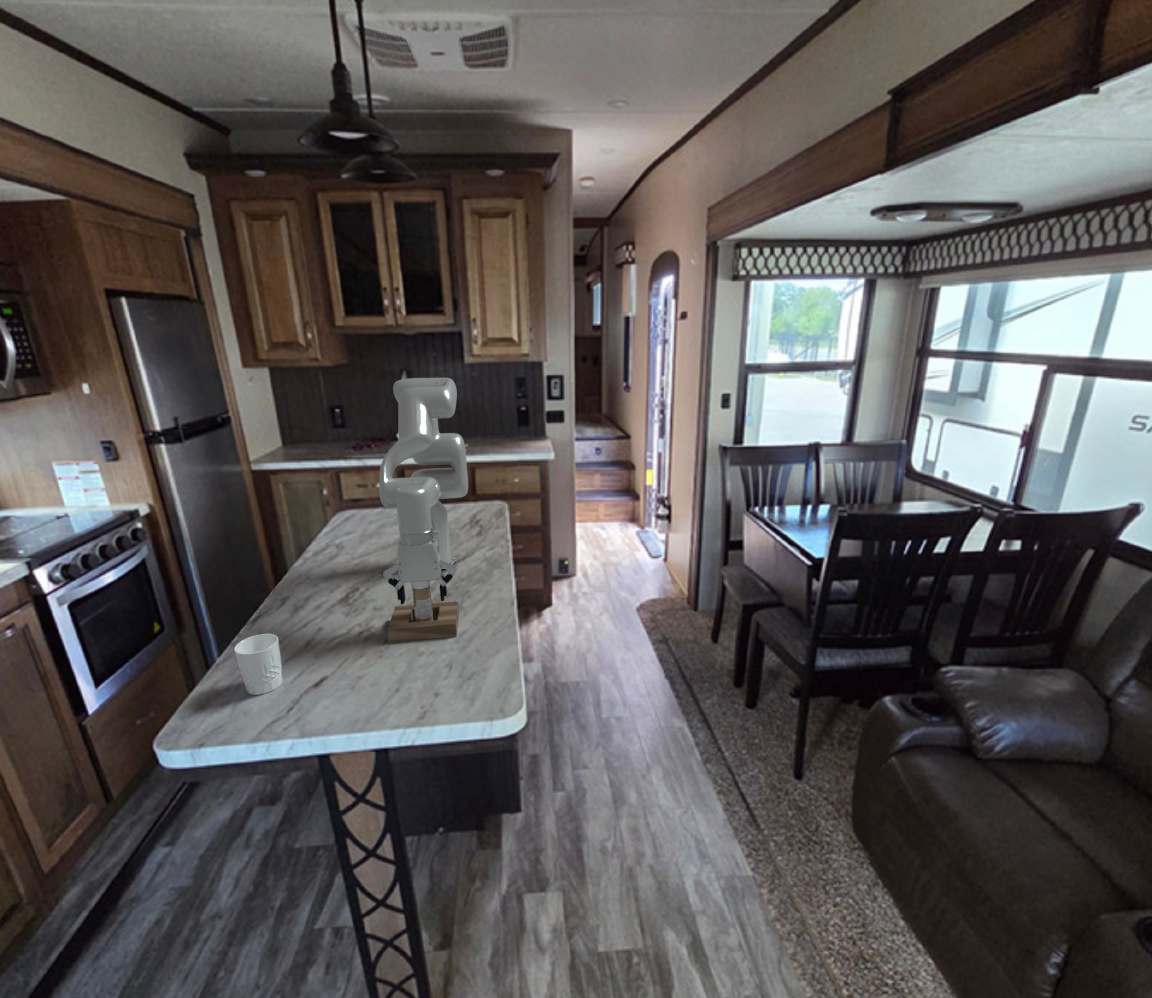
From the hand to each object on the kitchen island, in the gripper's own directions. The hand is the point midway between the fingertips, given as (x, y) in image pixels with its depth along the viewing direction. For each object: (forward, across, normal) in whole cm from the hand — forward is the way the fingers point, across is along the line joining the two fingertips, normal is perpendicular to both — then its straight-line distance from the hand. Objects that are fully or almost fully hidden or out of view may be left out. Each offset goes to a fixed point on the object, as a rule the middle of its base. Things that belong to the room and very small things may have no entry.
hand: (423, 600), depth 135 cm
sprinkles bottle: (+7, 0, 0) cm, 8 cm away
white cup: (+7, +31, +19) cm, 37 cm away
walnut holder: (+7, 0, 0) cm, 7 cm away
